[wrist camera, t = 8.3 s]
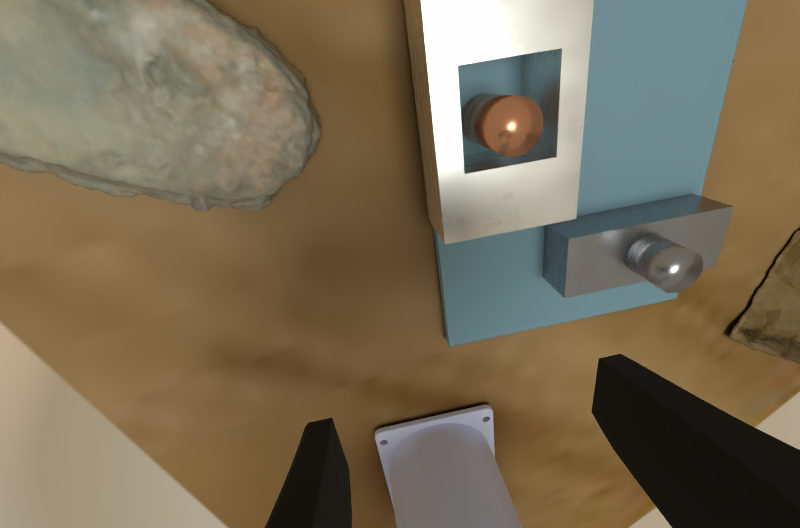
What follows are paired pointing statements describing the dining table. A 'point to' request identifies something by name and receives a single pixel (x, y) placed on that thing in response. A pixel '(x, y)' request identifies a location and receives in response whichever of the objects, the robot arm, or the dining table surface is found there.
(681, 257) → the metal knob block
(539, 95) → the silver block with hole
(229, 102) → the long grey stone
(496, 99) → the copper cylinder peg
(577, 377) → the dining table surface
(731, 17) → the board
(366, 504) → the dining table surface
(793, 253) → the rock
